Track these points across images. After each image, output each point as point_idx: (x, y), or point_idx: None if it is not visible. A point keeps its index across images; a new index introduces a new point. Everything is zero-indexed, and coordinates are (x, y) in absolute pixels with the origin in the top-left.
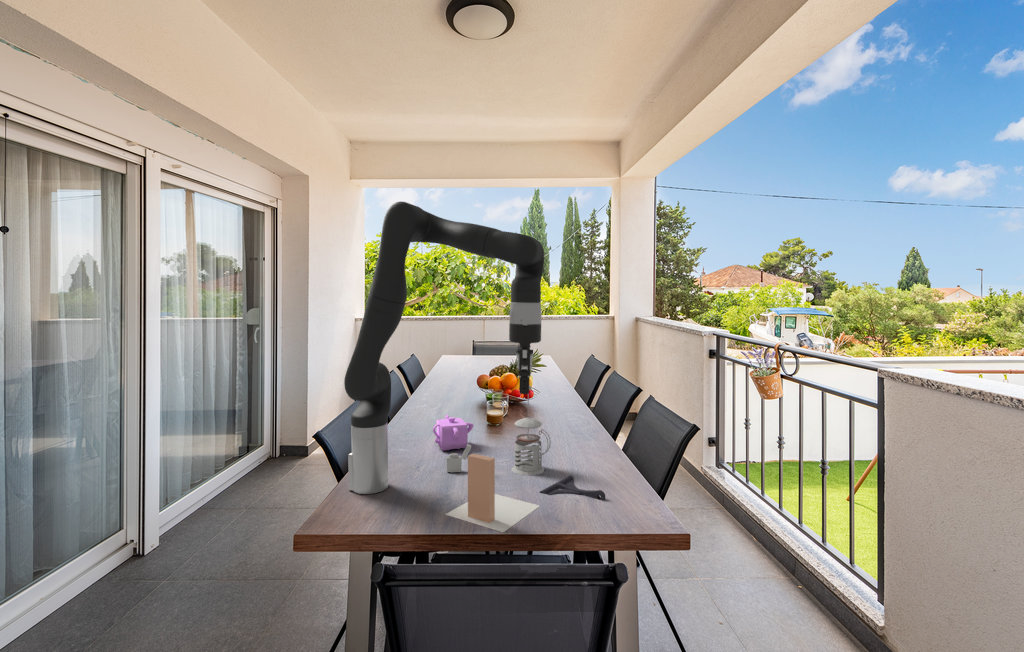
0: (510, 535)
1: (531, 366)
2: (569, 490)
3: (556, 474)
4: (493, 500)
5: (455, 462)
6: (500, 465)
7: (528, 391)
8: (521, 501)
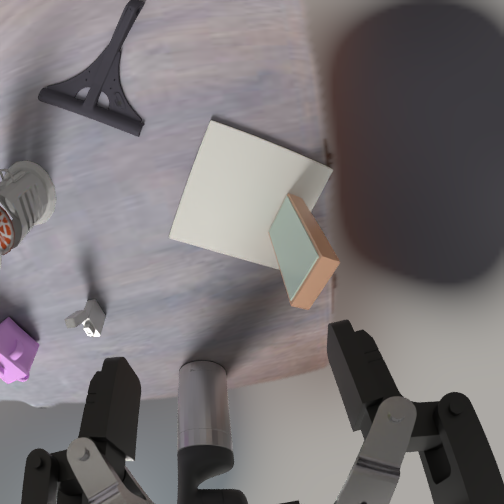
0: (331, 156)
1: (397, 473)
2: (109, 77)
3: (29, 131)
4: (300, 209)
5: (95, 319)
6: (33, 248)
7: (350, 328)
8: (198, 161)
